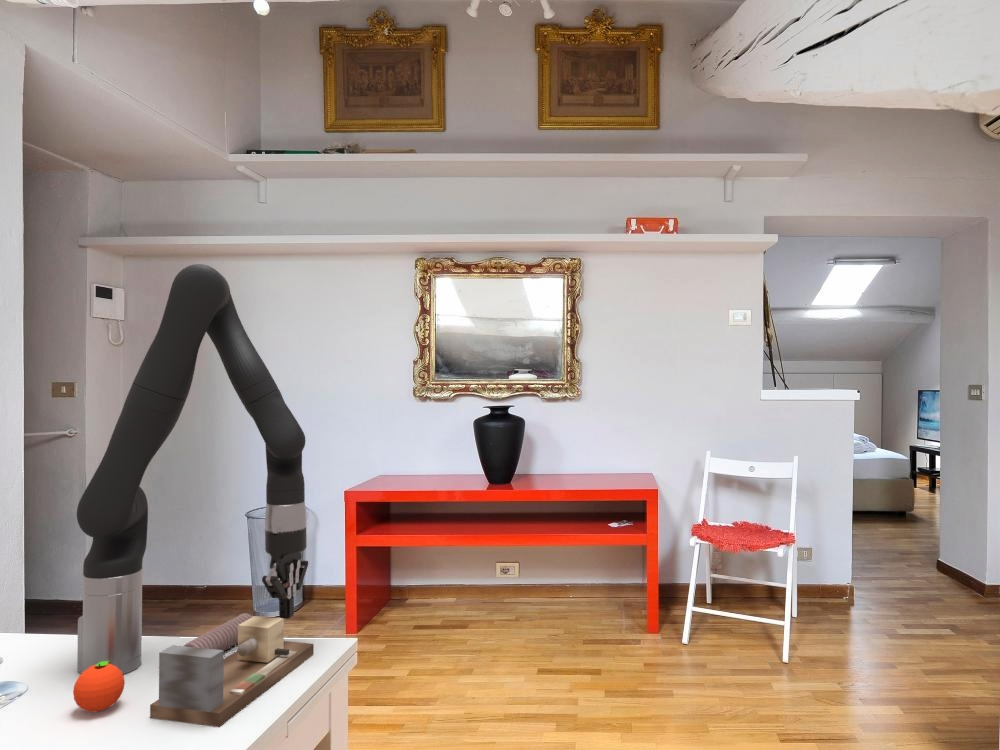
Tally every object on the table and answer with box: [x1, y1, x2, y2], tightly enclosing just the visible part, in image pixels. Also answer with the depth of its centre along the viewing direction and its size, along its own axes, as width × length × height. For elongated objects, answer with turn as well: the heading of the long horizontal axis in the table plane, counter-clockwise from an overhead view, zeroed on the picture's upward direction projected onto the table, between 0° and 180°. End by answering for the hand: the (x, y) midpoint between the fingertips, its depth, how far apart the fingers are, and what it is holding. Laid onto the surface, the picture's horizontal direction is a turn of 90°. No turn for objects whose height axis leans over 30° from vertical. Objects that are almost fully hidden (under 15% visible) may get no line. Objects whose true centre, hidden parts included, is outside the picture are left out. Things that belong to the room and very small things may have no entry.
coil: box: [183, 612, 253, 652], centre depth 129 cm, size 5×5×18 cm
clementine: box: [72, 661, 125, 713], centre depth 106 cm, size 8×7×7 cm
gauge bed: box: [149, 640, 315, 728], centre depth 115 cm, size 12×28×10 cm, turn 167°
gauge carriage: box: [236, 615, 289, 663], centre depth 119 cm, size 8×8×6 cm
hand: (286, 617), depth 128 cm, fingers closed
